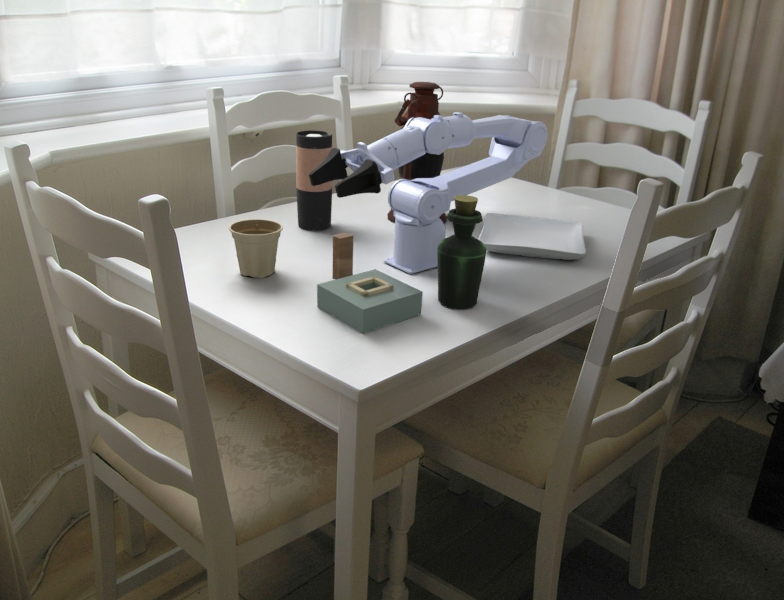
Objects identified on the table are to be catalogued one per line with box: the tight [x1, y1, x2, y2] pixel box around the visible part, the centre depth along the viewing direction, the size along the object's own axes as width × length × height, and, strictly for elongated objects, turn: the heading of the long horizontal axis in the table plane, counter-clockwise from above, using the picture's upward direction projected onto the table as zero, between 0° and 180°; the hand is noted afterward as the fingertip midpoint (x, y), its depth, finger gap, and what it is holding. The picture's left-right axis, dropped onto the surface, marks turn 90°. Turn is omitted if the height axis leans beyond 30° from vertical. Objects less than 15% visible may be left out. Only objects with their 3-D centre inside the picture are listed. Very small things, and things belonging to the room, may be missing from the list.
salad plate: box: [477, 212, 587, 261], centre depth 149 cm, size 21×21×3 cm
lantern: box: [387, 81, 448, 225], centre depth 157 cm, size 17×14×30 cm
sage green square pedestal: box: [316, 268, 424, 334], centre depth 114 cm, size 12×12×5 cm
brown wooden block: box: [332, 232, 354, 280], centre depth 126 cm, size 2×3×8 cm, turn 130°
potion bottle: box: [437, 195, 488, 311], centre depth 116 cm, size 8×8×18 cm
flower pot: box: [228, 218, 284, 279], centre depth 127 cm, size 9×9×9 cm
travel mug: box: [295, 129, 333, 232], centre depth 151 cm, size 8×8×20 cm
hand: (323, 185), depth 116 cm, fingers open, 7 cm apart
